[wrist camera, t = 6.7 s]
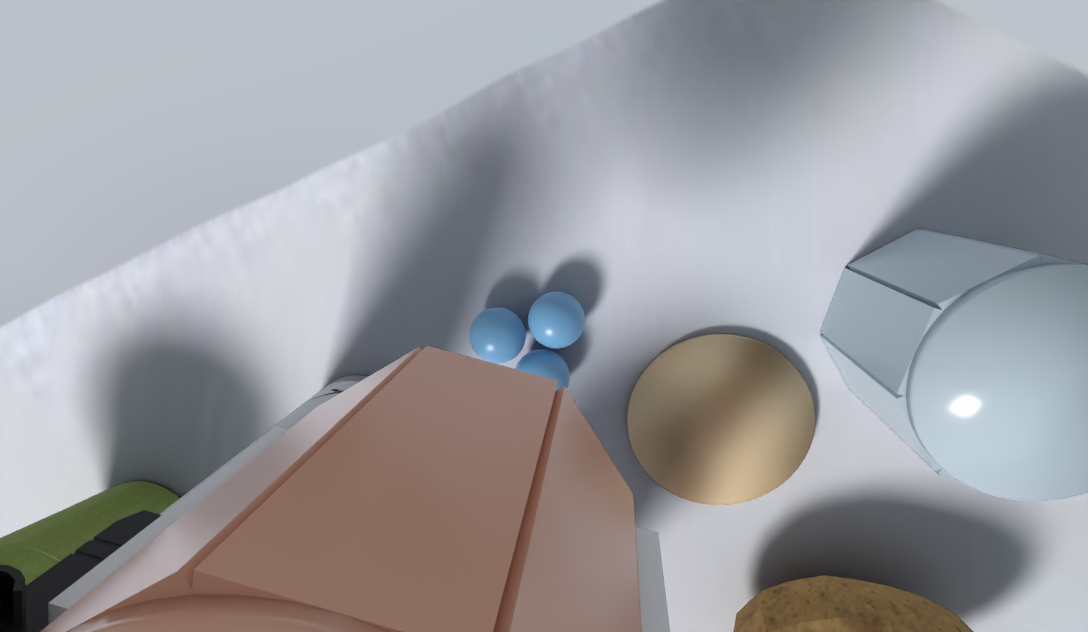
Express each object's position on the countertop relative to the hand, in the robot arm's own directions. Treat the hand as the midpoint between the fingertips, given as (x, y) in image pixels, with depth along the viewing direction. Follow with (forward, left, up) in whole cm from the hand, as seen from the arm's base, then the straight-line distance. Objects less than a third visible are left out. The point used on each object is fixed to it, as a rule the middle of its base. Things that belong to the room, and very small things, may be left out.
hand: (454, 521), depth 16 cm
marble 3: (-1, +2, -17) cm, 18 cm away
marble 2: (-1, -2, -17) cm, 18 cm away
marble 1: (+2, 0, -17) cm, 18 cm away
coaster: (-11, +2, -17) cm, 21 cm away
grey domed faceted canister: (-19, -6, -17) cm, 26 cm away
